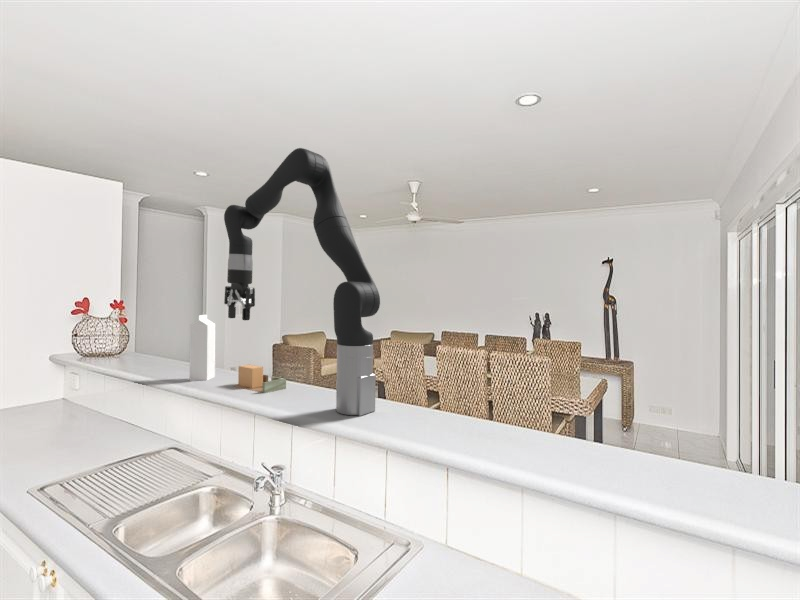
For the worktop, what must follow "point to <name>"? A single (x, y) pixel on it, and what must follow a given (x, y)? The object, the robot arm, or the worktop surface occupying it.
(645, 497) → the worktop surface
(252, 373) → the block
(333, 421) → the worktop surface
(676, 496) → the worktop surface
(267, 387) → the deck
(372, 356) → the robot arm
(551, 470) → the worktop surface
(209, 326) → the milk
